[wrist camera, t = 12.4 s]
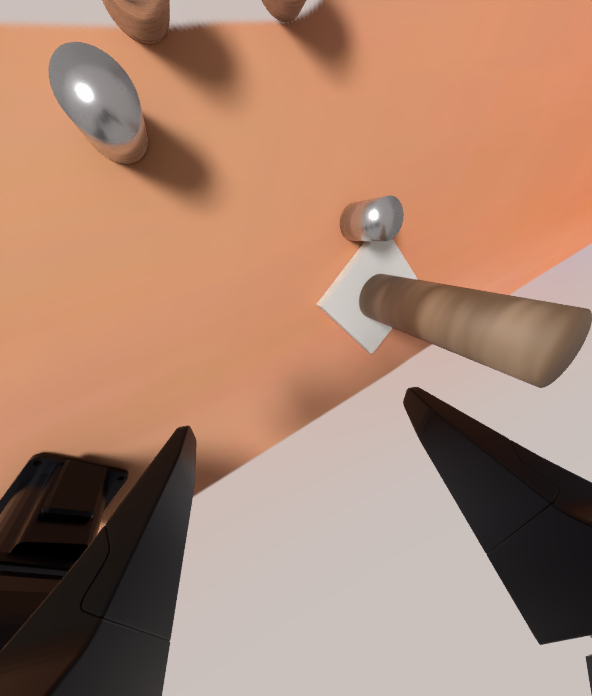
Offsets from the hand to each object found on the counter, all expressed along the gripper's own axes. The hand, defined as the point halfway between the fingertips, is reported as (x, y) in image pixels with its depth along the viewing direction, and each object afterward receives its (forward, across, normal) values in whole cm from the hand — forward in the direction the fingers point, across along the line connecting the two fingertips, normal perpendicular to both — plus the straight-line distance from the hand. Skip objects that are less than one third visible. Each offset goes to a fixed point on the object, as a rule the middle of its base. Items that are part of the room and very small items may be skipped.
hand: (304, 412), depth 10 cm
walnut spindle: (+14, -10, +2) cm, 18 cm away
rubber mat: (+15, -10, +2) cm, 19 cm away
